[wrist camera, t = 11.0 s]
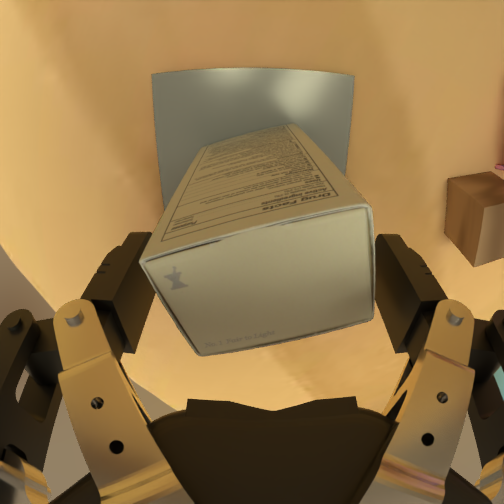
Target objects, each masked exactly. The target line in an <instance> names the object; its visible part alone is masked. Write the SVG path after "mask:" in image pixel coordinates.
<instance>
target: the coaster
mask: <svg viewBox="0 0 504 504" xmlns="http://www.w3.org/2000/svg"><path fill="white" fill-rule="evenodd" d="M152 90H153V106H154V120H155V132H156V143H157V153H158V163H159V172H160V180H161V188H162V196H163V204H164V211H165V209H166V208H167V206H168V204H169V202H170V200H171V198H172V196H173V195H174V193H175V191H176V189H177V188H178V186H179V184H180V182H181V180H182V179H183V177H184V175H185V174H186V172H187V170H188V168H189V167H190V165H191V163H192V162H193V160H194V159H195V157H196V155H197V153H198V152H199V150H200V149H201V148H202V147H204V146H207V145H211V144H214V143H217V142H220V141H223V140H226V139H230V138H233V137H237V136H240V135H244V134H248V133H251V132H256V131H260V130H264V129H268V128H272V127H277V126H282V125H287V124H292V123H294V124H296V125H297V126H298V127H299V128H300V129H301V130H302V131H303V132H304V133H305V134H306V135H307V136H308V137H309V138H310V139H311V140H312V141H313V142H314V143H315V144H316V145H317V146H318V147H319V148H320V149H321V150H322V151H323V152H324V153H325V155H326V156H327V157H328V158H329V159H330V160H331V161H332V162H333V164H334V165H335V166H336V167H337V168H338V169H339V170H340V171H341V172H342V174H343V175H344V176H345V171H346V163H347V155H348V146H349V137H350V127H351V116H352V105H353V92H354V76H353V75H346V74H339V73H330V72H321V71H311V70H298V69H282V68H214V69H197V70H184V71H174V72H165V73H157V74H152Z"/></svg>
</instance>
